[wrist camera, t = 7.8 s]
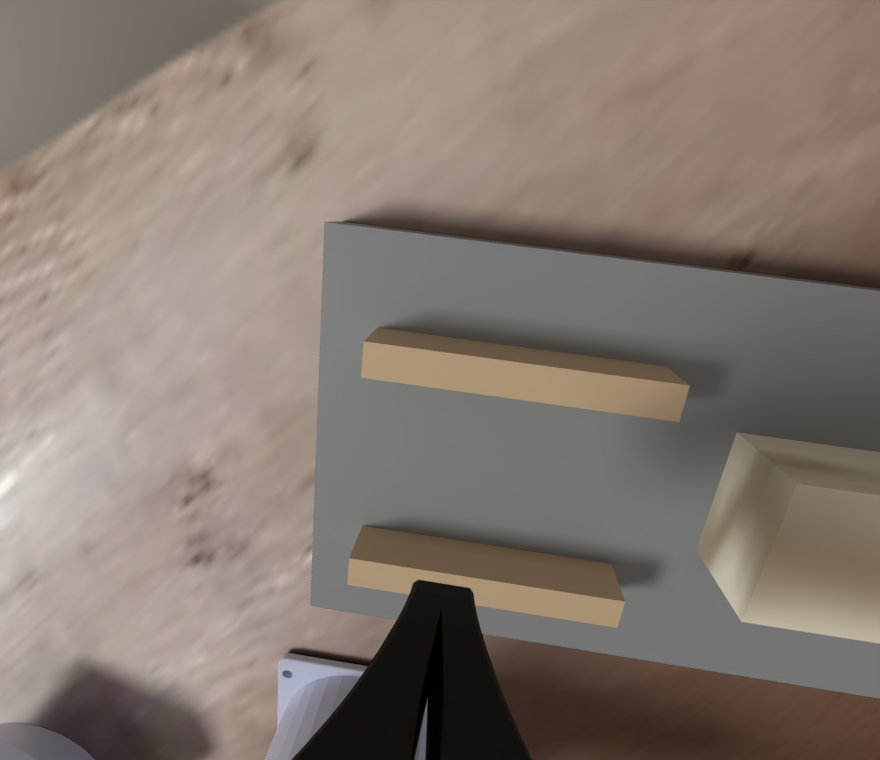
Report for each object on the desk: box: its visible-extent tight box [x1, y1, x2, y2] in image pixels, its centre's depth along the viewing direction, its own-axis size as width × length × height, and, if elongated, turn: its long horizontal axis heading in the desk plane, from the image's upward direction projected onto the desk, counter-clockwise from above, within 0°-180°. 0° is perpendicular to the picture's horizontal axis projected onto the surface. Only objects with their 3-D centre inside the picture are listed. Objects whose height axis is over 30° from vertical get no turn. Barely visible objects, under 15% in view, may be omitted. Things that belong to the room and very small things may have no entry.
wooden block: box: [696, 432, 880, 644], centre depth 16 cm, size 5×5×4 cm
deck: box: [311, 222, 880, 698], centre depth 18 cm, size 16×33×4 cm, turn 83°
